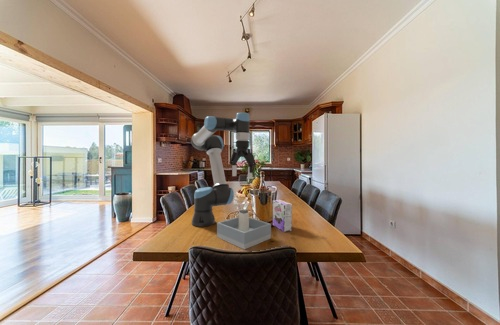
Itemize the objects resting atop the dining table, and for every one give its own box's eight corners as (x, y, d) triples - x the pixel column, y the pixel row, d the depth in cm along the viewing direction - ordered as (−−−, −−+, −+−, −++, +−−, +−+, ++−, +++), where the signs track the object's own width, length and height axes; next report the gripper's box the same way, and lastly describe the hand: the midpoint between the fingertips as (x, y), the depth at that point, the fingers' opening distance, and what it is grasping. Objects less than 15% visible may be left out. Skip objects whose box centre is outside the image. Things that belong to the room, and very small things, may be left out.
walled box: (217, 237, 119) (217, 222, 119) (243, 228, 133) (243, 215, 133) (244, 249, 103) (244, 233, 103) (270, 238, 117) (271, 223, 117)
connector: (238, 237, 118) (238, 210, 118) (243, 235, 121) (243, 209, 120) (243, 239, 115) (243, 211, 115) (248, 237, 118) (248, 210, 118)
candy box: (272, 225, 140) (272, 200, 139) (280, 224, 142) (280, 199, 141) (283, 232, 127) (283, 204, 126) (292, 230, 129) (292, 203, 129)
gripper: (224, 140, 129) (223, 175, 131) (253, 139, 111) (252, 180, 113) (233, 141, 135) (233, 174, 136) (262, 140, 117) (262, 179, 118)
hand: (241, 177), depth 124 cm, fingers open, 13 cm apart
